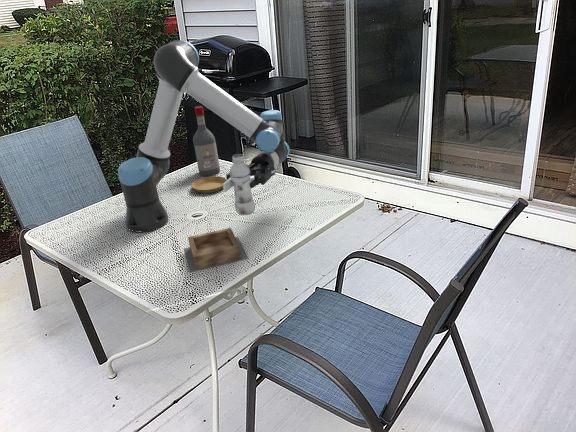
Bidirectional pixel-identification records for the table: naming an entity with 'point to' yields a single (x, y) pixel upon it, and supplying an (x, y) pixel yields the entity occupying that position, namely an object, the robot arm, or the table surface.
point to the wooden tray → (214, 248)
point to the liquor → (205, 147)
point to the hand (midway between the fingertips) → (234, 188)
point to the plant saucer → (209, 184)
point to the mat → (193, 268)
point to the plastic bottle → (239, 178)
